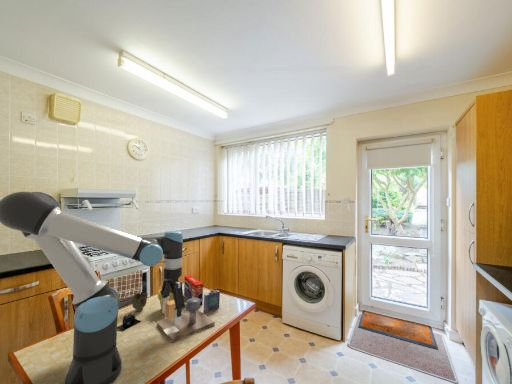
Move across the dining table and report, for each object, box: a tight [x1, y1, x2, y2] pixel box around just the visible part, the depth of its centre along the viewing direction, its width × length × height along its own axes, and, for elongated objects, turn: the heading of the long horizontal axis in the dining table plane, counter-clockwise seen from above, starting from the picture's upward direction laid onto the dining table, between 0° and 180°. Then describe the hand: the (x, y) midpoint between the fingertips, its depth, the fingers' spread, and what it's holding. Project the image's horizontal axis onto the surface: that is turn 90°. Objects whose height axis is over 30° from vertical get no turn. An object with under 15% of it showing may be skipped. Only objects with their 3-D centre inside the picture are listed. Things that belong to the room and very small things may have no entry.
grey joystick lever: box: [164, 298, 201, 320], centre depth 103 cm, size 15×6×6 cm, turn 132°
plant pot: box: [157, 289, 174, 310], centre depth 121 cm, size 10×10×10 cm
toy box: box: [183, 274, 204, 306], centre depth 133 cm, size 18×4×12 cm, turn 37°
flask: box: [203, 288, 221, 314], centre depth 122 cm, size 9×3×11 cm, turn 132°
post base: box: [156, 309, 216, 343], centre depth 106 cm, size 20×17×8 cm
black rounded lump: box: [117, 313, 143, 332], centre depth 106 cm, size 12×7×5 cm, turn 152°
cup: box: [131, 292, 149, 313], centre depth 119 cm, size 8×7×8 cm
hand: (171, 317), depth 99 cm, fingers open, 12 cm apart
